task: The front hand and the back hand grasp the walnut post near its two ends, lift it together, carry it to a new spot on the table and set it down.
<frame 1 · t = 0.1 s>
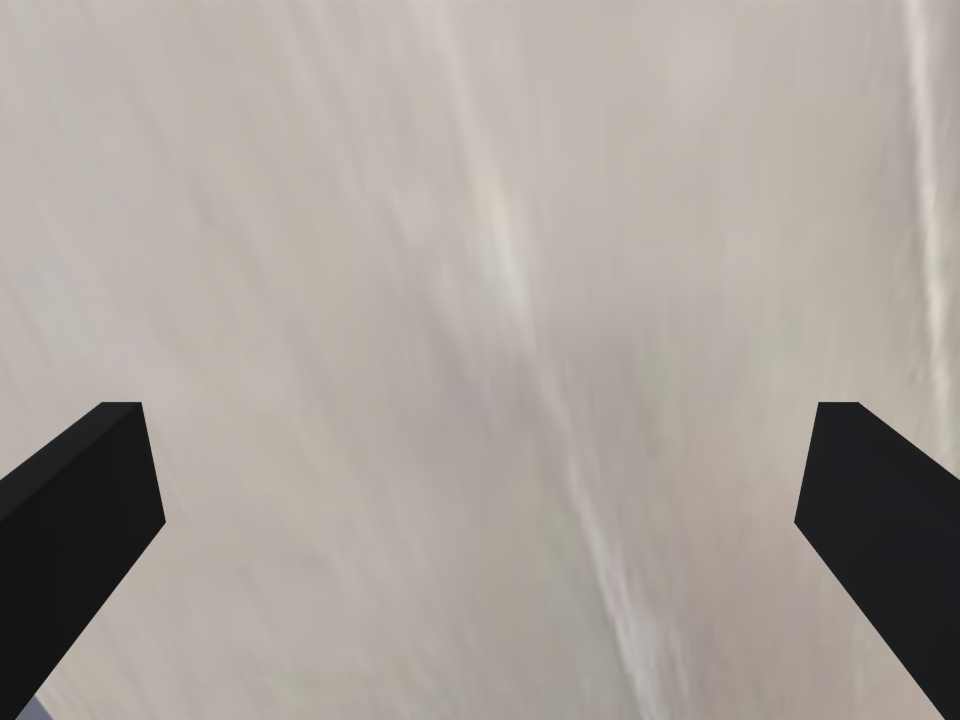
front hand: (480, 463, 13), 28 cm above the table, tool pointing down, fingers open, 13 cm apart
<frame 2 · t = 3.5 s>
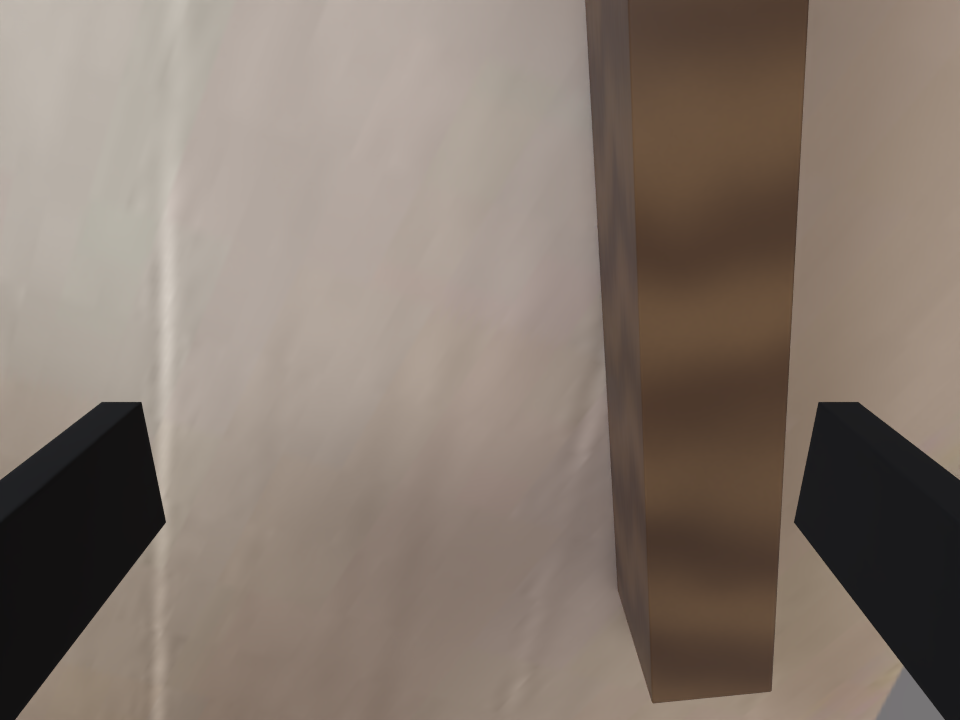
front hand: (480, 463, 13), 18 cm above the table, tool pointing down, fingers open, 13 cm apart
post: (654, 45, 27), on the table
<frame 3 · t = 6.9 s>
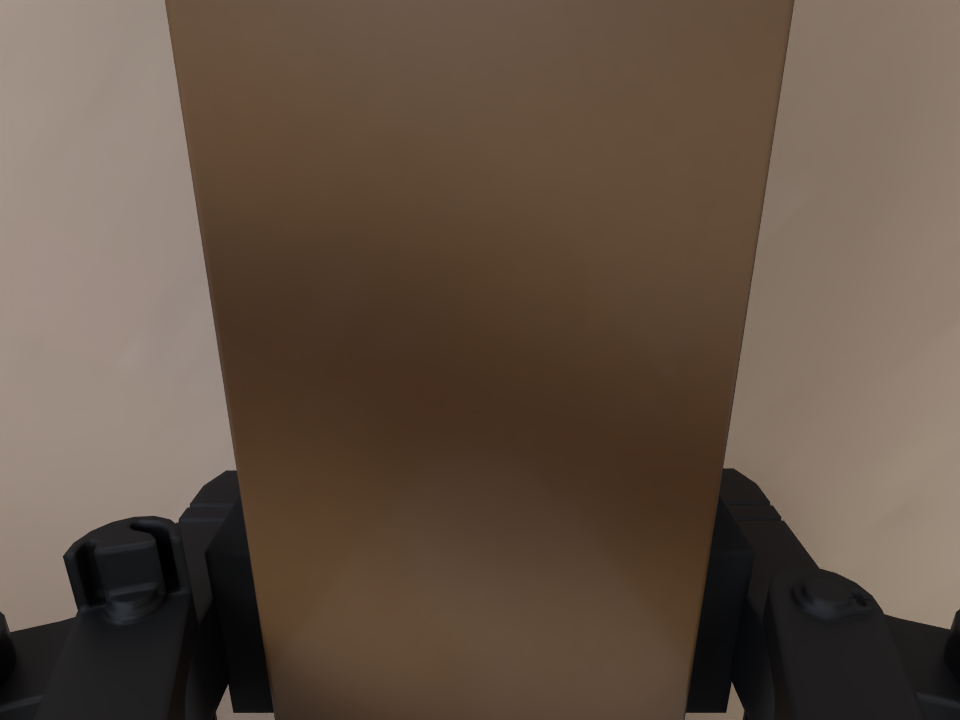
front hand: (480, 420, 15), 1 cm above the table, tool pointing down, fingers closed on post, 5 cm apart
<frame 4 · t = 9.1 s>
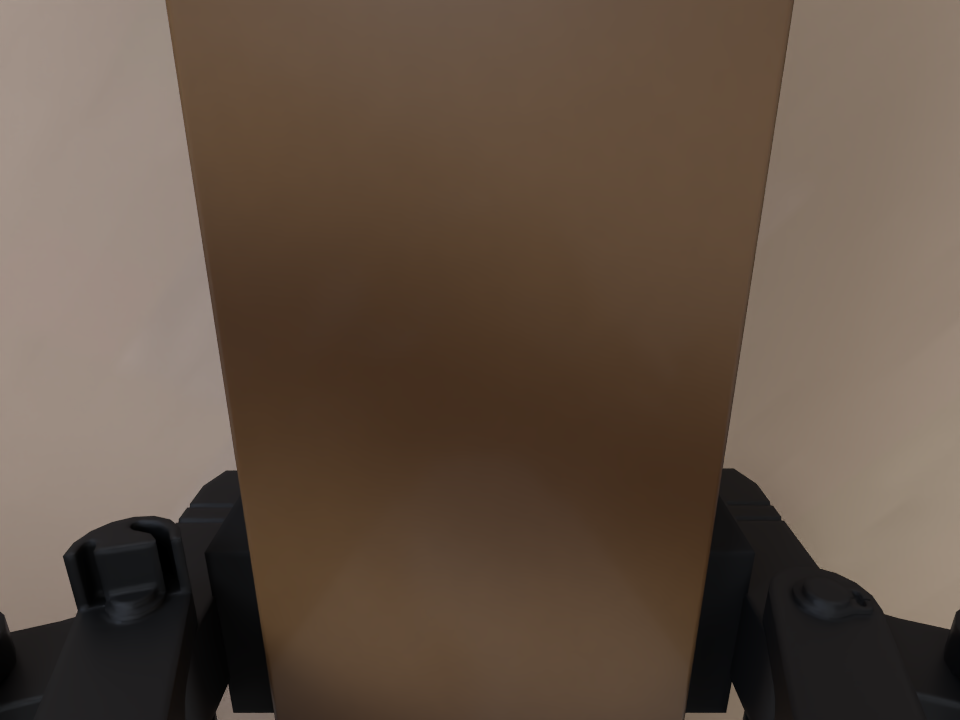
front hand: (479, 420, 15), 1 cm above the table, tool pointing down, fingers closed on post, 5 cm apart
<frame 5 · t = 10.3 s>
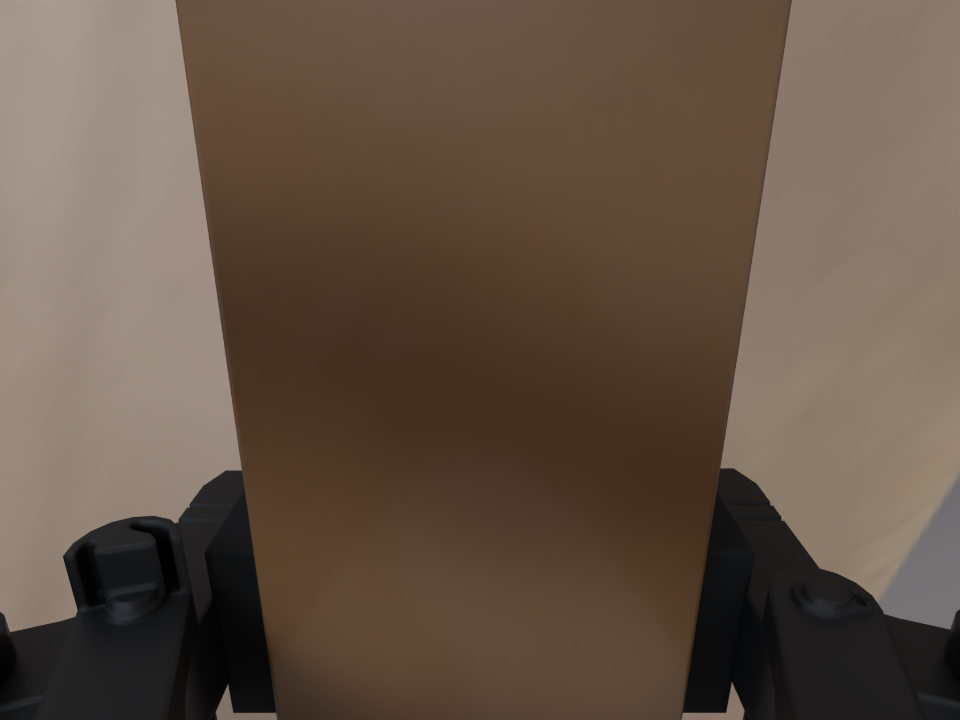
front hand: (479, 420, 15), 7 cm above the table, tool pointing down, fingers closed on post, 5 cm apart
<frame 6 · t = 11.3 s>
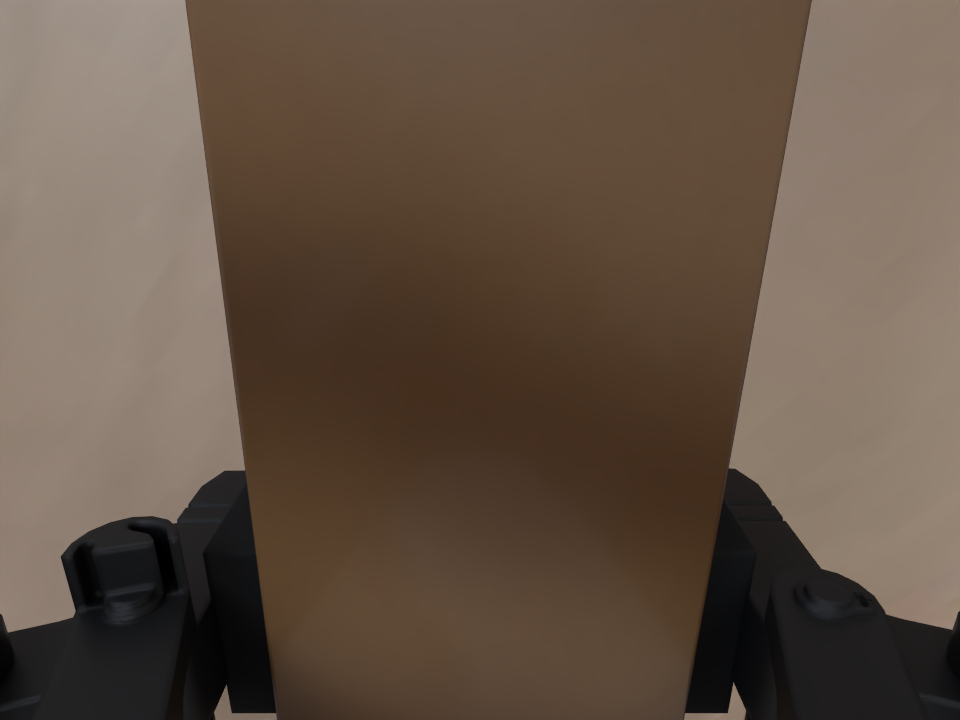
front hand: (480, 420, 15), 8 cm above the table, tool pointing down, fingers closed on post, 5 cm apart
when the front hand's fingers open (2 cm above the table, at t = 13.7 s): post drops 1 cm, on the table.
when the back hand's fingers open (4 cm above the table, at t = 13.9 s): post stays where it is, on the table.
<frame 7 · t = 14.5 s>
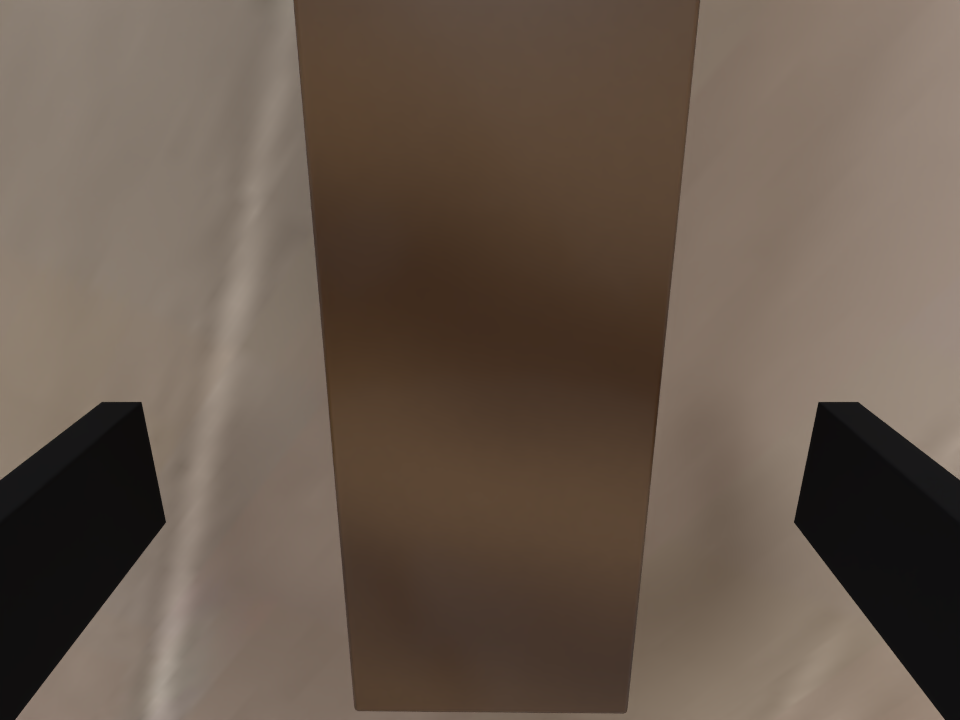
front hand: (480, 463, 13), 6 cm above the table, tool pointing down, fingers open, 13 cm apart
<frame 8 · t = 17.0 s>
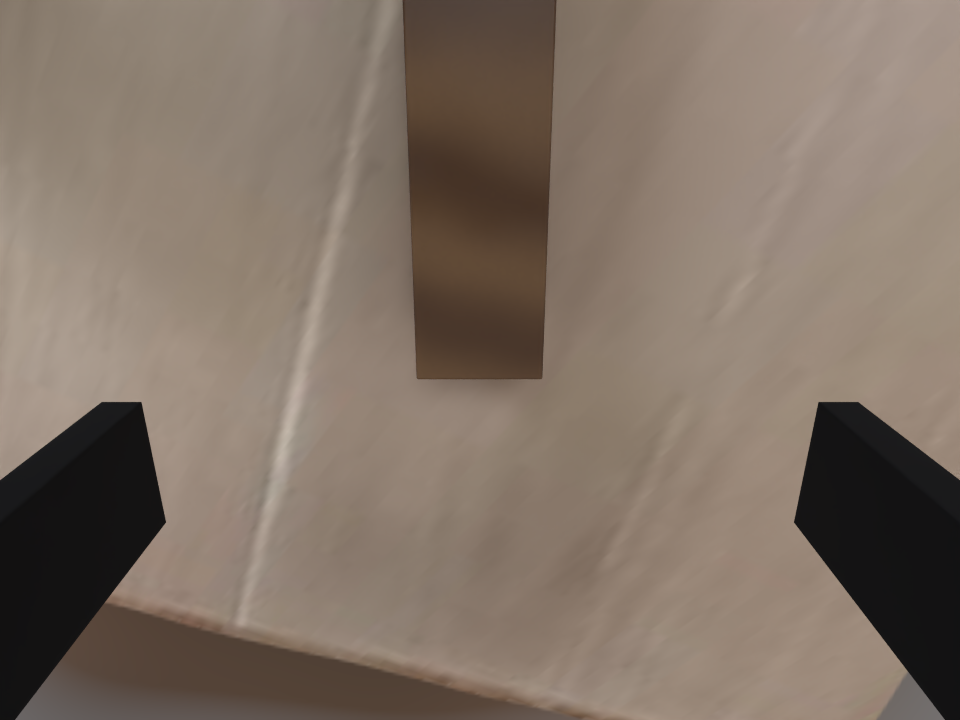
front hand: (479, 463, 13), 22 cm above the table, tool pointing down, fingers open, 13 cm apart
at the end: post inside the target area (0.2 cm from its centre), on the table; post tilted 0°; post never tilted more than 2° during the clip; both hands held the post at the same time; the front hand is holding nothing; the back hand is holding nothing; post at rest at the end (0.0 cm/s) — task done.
